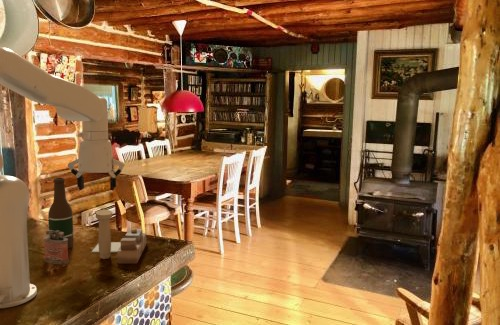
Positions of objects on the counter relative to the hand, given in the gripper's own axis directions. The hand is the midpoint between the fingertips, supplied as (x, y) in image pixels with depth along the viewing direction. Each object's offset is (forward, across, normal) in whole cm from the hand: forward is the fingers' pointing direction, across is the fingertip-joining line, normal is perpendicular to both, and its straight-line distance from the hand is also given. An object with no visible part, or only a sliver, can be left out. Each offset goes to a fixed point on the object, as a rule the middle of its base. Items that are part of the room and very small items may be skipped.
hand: (97, 189), depth 135 cm
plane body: (+22, +11, +1) cm, 24 cm away
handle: (+22, +3, -3) cm, 22 cm away
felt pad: (+22, +2, +6) cm, 23 cm away
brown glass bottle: (+22, -14, +7) cm, 27 cm away
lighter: (+22, -11, -6) cm, 25 cm away
